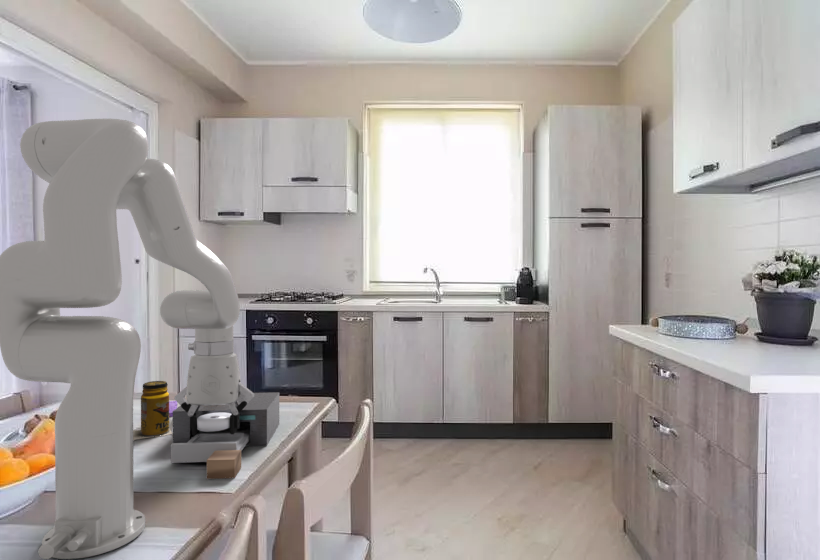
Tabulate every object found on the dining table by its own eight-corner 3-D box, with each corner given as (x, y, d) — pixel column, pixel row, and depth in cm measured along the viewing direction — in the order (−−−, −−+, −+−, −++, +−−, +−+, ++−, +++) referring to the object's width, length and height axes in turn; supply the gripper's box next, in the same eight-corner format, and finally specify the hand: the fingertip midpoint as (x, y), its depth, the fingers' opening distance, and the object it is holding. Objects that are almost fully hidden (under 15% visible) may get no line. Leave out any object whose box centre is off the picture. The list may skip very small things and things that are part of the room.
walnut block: (234, 478, 93) (234, 459, 93) (206, 479, 93) (206, 460, 93) (241, 467, 98) (241, 449, 98) (214, 468, 98) (214, 450, 98)
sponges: (177, 406, 145) (177, 400, 145) (175, 418, 133) (175, 411, 133) (150, 409, 142) (150, 402, 142) (145, 421, 131) (145, 414, 131)
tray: (236, 460, 99) (236, 443, 99) (170, 462, 98) (170, 444, 98) (254, 435, 115) (254, 419, 115) (198, 436, 114) (197, 421, 114)
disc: (227, 431, 103) (227, 421, 103) (192, 432, 102) (192, 422, 102) (236, 421, 110) (236, 411, 110) (203, 422, 109) (203, 412, 109)
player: (266, 445, 111) (266, 409, 111) (172, 448, 109) (172, 411, 109) (279, 424, 127) (279, 392, 127) (197, 425, 125) (197, 393, 125)
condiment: (173, 434, 119) (172, 383, 119) (132, 441, 114) (131, 388, 114) (168, 426, 125) (168, 378, 125) (129, 432, 120) (129, 382, 120)
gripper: (164, 352, 101) (165, 440, 102) (252, 351, 103) (253, 437, 103) (178, 346, 109) (179, 428, 109) (260, 345, 110) (260, 426, 111)
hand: (215, 432), depth 106 cm, fingers closed on disc, 7 cm apart
